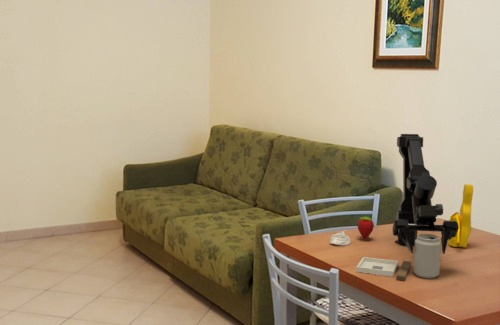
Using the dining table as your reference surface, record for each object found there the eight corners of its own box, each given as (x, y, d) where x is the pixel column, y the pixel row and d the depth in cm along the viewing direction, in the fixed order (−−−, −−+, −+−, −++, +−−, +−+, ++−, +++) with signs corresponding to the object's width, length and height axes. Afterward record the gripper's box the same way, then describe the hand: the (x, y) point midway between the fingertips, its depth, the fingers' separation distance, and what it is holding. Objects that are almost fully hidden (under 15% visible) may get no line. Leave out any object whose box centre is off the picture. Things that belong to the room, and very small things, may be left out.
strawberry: (371, 236, 215) (372, 210, 214) (375, 242, 208) (376, 215, 207) (355, 236, 216) (356, 210, 214) (358, 242, 208) (359, 214, 207)
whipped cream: (339, 250, 202) (340, 237, 200) (324, 244, 206) (324, 232, 205) (352, 244, 207) (353, 231, 206) (337, 238, 212) (338, 226, 210)
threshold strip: (403, 264, 184) (403, 260, 184) (411, 265, 183) (411, 261, 183) (396, 280, 169) (396, 276, 169) (404, 281, 168) (404, 277, 168)
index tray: (363, 261, 186) (363, 256, 186) (398, 265, 182) (398, 261, 182) (356, 272, 176) (356, 266, 176) (393, 276, 172) (393, 271, 172)
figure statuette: (442, 238, 214) (446, 179, 211) (465, 239, 212) (468, 180, 209) (451, 252, 196) (454, 188, 193) (475, 253, 195) (479, 189, 192)
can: (440, 280, 169) (442, 240, 167) (414, 278, 171) (416, 238, 169) (437, 272, 176) (439, 233, 175) (412, 270, 178) (414, 232, 176)
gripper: (395, 193, 175) (399, 238, 166) (459, 194, 174) (466, 240, 164) (390, 212, 184) (394, 256, 175) (451, 214, 182) (458, 259, 173)
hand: (428, 253), depth 172 cm, fingers open, 9 cm apart
